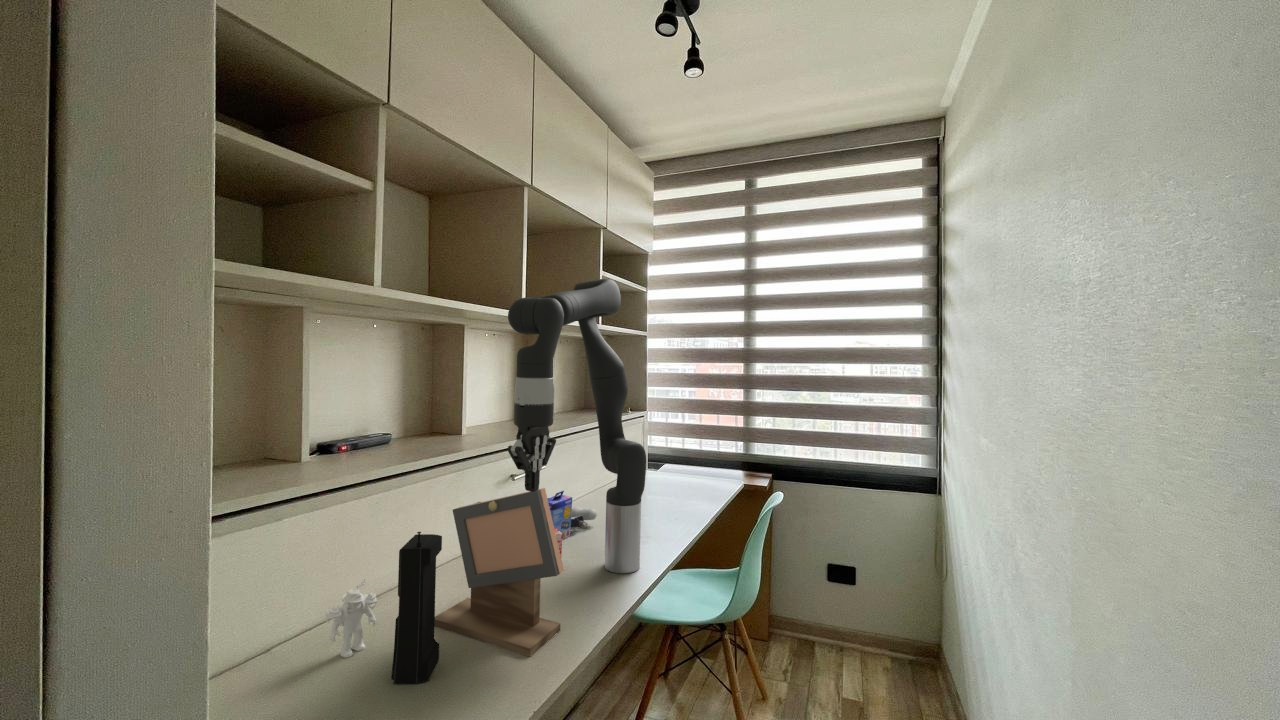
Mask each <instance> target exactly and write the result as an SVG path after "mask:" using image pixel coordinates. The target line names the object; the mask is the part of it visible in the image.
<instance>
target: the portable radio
mask: <svg viewBox="0 0 1280 720" xmlns="http://www.w3.org/2000/svg"><path fill="white" fill-rule="evenodd" d="M416 533H417V534H415V535H414V536H412V537H411V538H410V539H409V540H408V541H407V542H406V543H405V544H404V545H403V546H402V547H401V548H400V549H399V551H398V573H397V574H398V577H397V580H398V581H397V597H398V614H397V615H398V616H397V617H396V619H395V625H394V644H393V658H392V668H391V675H390V676H391V677H390V678H391V681H393V685H410V684H411V685H415V684H420V683H421V684H422V683H425V682H429V681H430V679H431V677H432V675H433V673H434V671H435V669H436V667H437V665H438V663H439V661H440V642H438V641H436V639H435V628H436V627H435V616H436V614H435V613H436V579H437V578H436V576H437V575H436V574H437V556H438V555H439V554H440V553H441V551H442V549H443V536H442V535H439V534H431V533H430V534H428V533H427V534H424V533H423V534H421V533H422V531H417V532H416Z"/></svg>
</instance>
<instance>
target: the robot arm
mask: <svg viewBox="0 0 1280 720" xmlns="http://www.w3.org/2000/svg"><path fill="white" fill-rule="evenodd" d="M621 303H622V296H621V292H620V288H619V285H618V284H617V283H616V281H614V280H613V279H610V278H599V279H594V280H593V279H592V280H588V281H583V282H581V281H580V282H578V283H576V284H575V285H574V287H573V290H566V291H560V292H555V293H552V294H548V295H543V296H542V295H541V296H530V297H522V298H519V299H516V300H515V301H514V302H513V303H512V304H511V305H510V307H509V309H508V312H507V318H508V323H509V325H510V327H511V328H512V329H513V330H514V331H515V332H516V333H519V334H522V335H523V334H524V335H538V336H537V339H536V341H535V343H533V344H532V345H528V346H523V347H521V348H519V349H518V350H517V354H516V379H515V384H514V401H513V403H514V404H513V406H514V407H513V424H514V425H515V426H516V427H517V433H516V435H515V437H516V438H515V439H516V441H515V442H514V443H513V445H509V446H508V447H507V453H508V454H509V456H510V457H511V459H512V462H513V463H514V465H515V466H516V468H517V470H519V471H520V470H522V471H523V472H524V490H526V492H529V491H532V492H533V491H536V490H538V489H540V478H541V477H540V476H541V475H540V474H541V470H542V469H543V467H546V466H547V465H548V462H549V460H550V457H551V456H552V453H553V451H554V448H555V446H556V444H557V439H556V438H553V437H551V436H550V430H549V429H550V428H549V427H550V426H553V424H554V415H555V414H554V412H555V411H554V406H555V403H554V402H555V387H554V359H555V353H556V350H557V346H558V342H559V339H560V335H561V333H562V330H563V327H564V326H567V325H570V324H572V323H575V322H578V326H579V329H580V330H579V331H580V333H581V337H582V340H583V344H584V350H585V351H584V352H585V354H586V355H585V356H586V360H587V366H588V374H589V379H590V380H589V381H590V385H591V391H592V395H593V400H594V407H595V411H596V412H595V413H596V419H597V424H598V435H599V448H600V449H599V450H600V451H599V452H600V457H601V461H602V465H603V466H604V468H605V469H606V471H608V472H610V473H613V474H615V475H616V484H615V486H613V487H610V488H608V489H607V491H606V494H605V495H606V496H605V497H606V498H605V502H606V503H605V537H604V538H605V539H604V540H605V541H604V542H605V543H604V568H605V569H606V571H608V572H611V573H615V574H631V573H633V572H634V573H635V572H636V571H638V570H639V569H640V563H641V558H640V557H641V533H642V532H641V528H642V526H641V525H642V522H641V521H642V496H643V494H644V491H645V485H646V475H647V474H646V473H647V453H646V450H645V448H644V446H643V445H642V444H641V443H639V442H636V441H633V440H630V439H629V440H627V439H626V437H625V432H624V427H623V421H622V418H623V411H624V408H625V405H626V401H627V398H628V397H627V396H628V393H629V392H628V391H629V387H628V380H627V374H626V369H625V365H624V363H623V361H622V359H621V358H620V357H619V356H618V354H617V353H616V351H614V349H613V348H612V347H611V346H610V345H609V344H608V342H606V340H605V338H604V337H603V335H602V333H601V332H600V328H599V326H598V324H597V320H596V318H600V317H607V316H612V315H614V314H616V313H617V312H618V311H619V309H620V307H621Z"/></svg>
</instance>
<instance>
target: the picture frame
mask: <svg viewBox="0 0 1280 720" xmlns="http://www.w3.org/2000/svg"><path fill="white" fill-rule="evenodd" d="M547 498H548V495H547V492H546V488H545V487H543V488H539V489H538V490H536V491H533V492H532V491H525V492H521V493H517V494H510V495H508V496H503V497H499V498H493V499H489V500H485V501H479V502H480V503H477V502H474V503H475V504H474V503H472V504H467V505H463V506H458V507H456V508H453V509H452V513H453V514H452V515H453V518H454V523H455V529H456V534H457V538H458V543H459V547H460V548H459V549H460V552H461V553H460V554H461V559H462V563H463V568H464V572H465V576H466V582H467V587H468V589H471V588H474V587H481V586H488V585H495V584H502V583H510V582H517V581H524V580H531V579H538V578H540V579H546V578H553V577H558V576H559V575H560V574H562V573H563V572H565V570H564V564H563V560H562V554H561V555H560V551H559V547H558V542H557V538H556V534H555V529H554V525H553V521H552V516H551V512H550V508H549V503H548V499H547Z"/></svg>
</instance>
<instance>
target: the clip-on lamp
mask: <svg viewBox="0 0 1280 720" xmlns="http://www.w3.org/2000/svg"><path fill="white" fill-rule="evenodd" d="M597 514H598V513H597V511H596V509H594V508H588V509H587V508H586V509H585V508H581V507H579V506H575V507H572V513H571V529H573V528H579V527H580V526H581V525H583V524H585V525H586V526H587V525H589V523H588V522H586V521H593V520H595V519H596V518H597V516H598V515H597Z"/></svg>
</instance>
